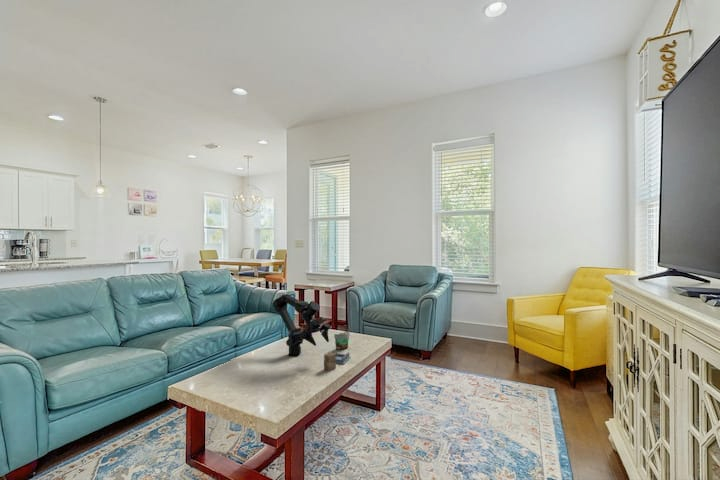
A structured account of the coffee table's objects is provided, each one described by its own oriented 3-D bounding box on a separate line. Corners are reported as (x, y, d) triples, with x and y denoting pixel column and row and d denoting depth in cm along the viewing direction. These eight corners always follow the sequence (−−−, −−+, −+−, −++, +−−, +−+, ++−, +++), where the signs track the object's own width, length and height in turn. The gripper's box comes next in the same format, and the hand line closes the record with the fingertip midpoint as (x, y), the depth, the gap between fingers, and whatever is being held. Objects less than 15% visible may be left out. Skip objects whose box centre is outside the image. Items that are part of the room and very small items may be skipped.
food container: (341, 351, 208) (341, 336, 208) (334, 349, 212) (334, 334, 212) (353, 346, 218) (353, 331, 218) (346, 345, 222) (346, 330, 222)
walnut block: (324, 369, 180) (324, 354, 180) (330, 366, 184) (330, 352, 184) (328, 371, 177) (328, 356, 177) (335, 368, 181) (335, 354, 181)
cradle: (326, 362, 190) (326, 356, 190) (333, 355, 201) (333, 350, 201) (344, 364, 187) (344, 358, 187) (350, 357, 197) (350, 352, 197)
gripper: (302, 314, 182) (315, 339, 174) (328, 309, 195) (341, 331, 188) (294, 326, 187) (306, 350, 180) (319, 320, 201) (331, 342, 193)
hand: (322, 343), depth 185 cm, fingers open, 9 cm apart
